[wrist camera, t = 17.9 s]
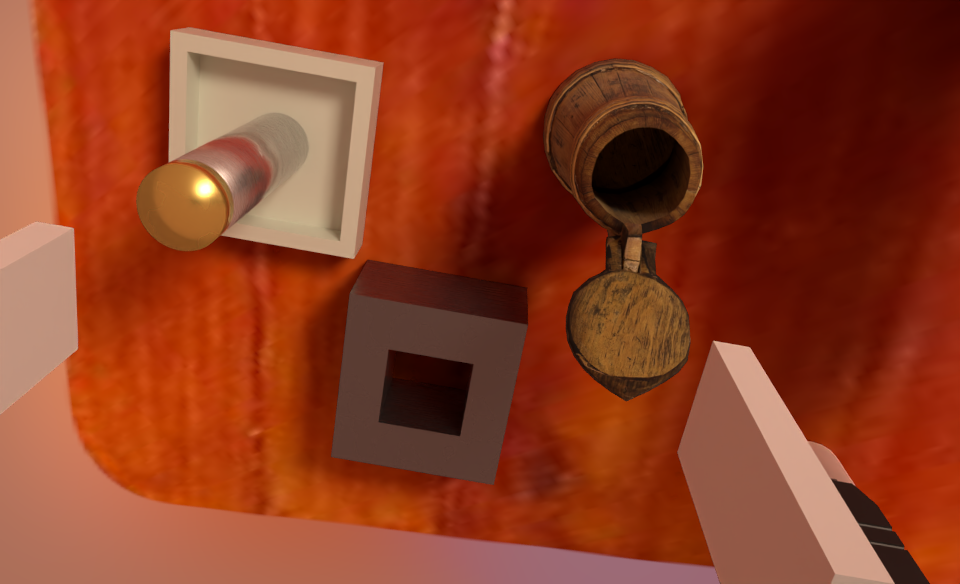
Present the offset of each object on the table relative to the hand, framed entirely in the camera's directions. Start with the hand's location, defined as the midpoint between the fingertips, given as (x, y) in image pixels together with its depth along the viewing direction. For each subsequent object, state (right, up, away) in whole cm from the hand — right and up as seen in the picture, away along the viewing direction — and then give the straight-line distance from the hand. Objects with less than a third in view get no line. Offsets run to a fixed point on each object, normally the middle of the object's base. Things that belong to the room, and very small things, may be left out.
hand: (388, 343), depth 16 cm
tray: (-11, +11, +34) cm, 37 cm away
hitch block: (-1, -3, +39) cm, 39 cm away
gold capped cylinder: (-11, +10, +33) cm, 36 cm away
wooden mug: (+10, +9, +34) cm, 36 cm away
